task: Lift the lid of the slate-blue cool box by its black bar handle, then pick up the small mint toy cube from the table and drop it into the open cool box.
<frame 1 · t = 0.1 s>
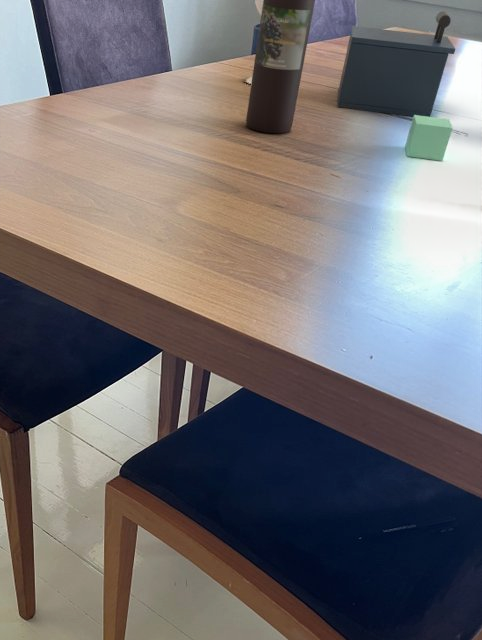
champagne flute: (261, 84, 136), on the table
wine bottle: (268, 129, 112), on the table
mint toy cube: (423, 153, 106), on the table
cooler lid: (404, 25, 122), point 12 cm above the table, hinge at 0.0°
cool box: (381, 104, 130), on the table
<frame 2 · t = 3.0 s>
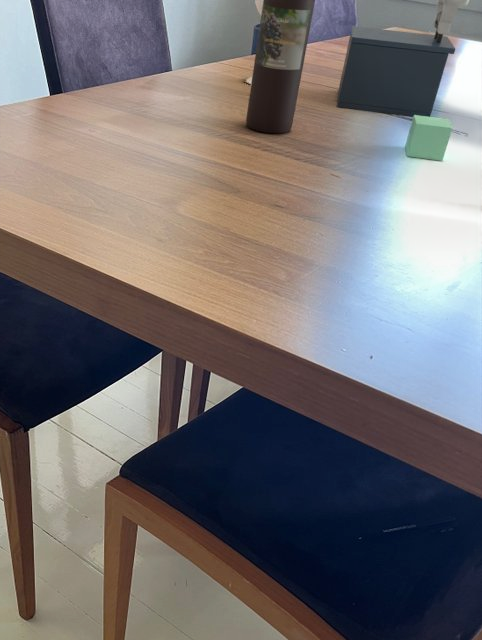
hand: (440, 30, 121), 12 cm above the table, tool pointing down, fingers closed on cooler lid, 5 cm apart
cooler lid: (404, 25, 122), point 12 cm above the table, hinge at 0.0°, touching gripper
everything else where it was.
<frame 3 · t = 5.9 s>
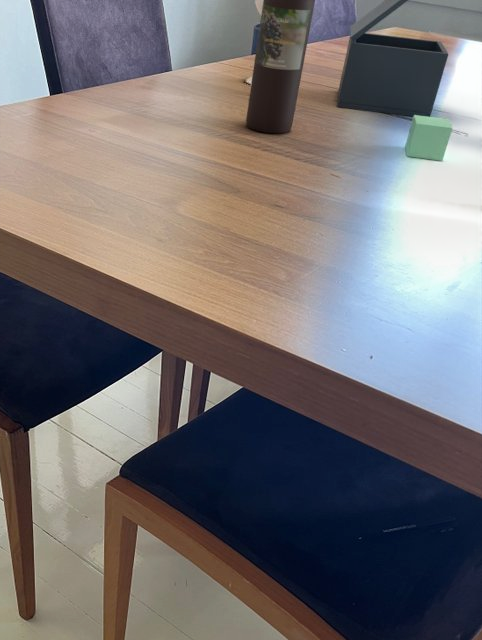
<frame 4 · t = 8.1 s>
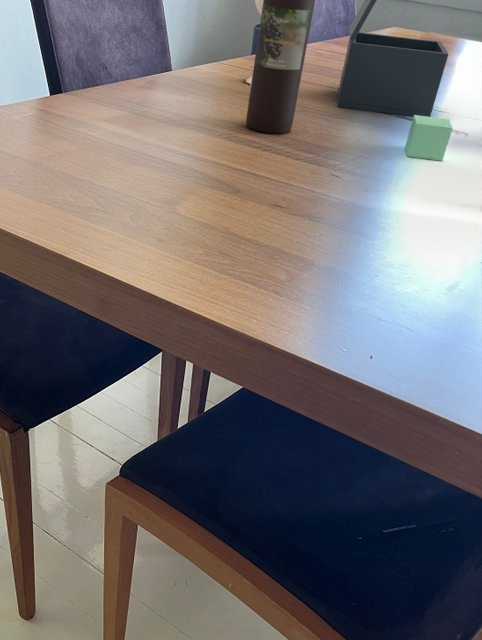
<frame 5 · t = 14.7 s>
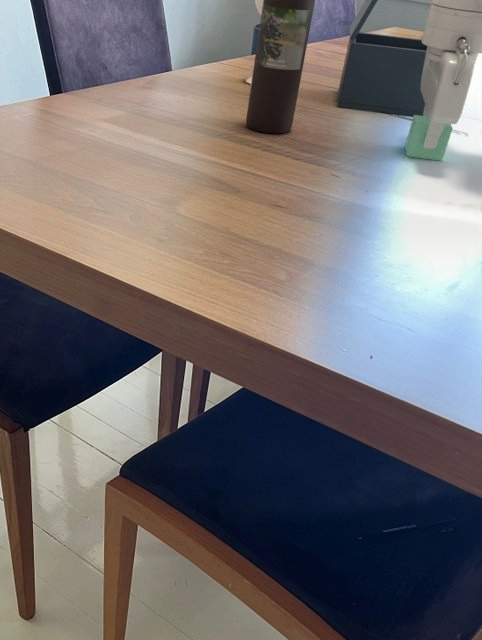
hand: (426, 141, 105), 2 cm above the table, tool pointing down, fingers closed on mint toy cube, 5 cm apart
mint toy cube: (423, 153, 106), on the table, touching gripper
when the fingers open (10 cm above the table, at t = 21.7 s): mint toy cube drops 8 cm, resting on cool box.
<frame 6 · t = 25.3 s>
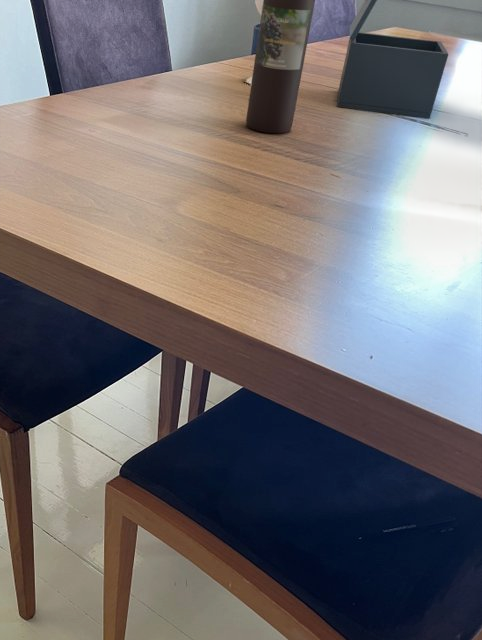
mint toy cube: (400, 101, 129), point 1 cm above the table, touching cool box
at the end: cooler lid at +70° (first picture: +0°); mint toy cube inside the target area in the cool box (3.0 cm from its centre), point 0.8 cm above the cool box's base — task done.
